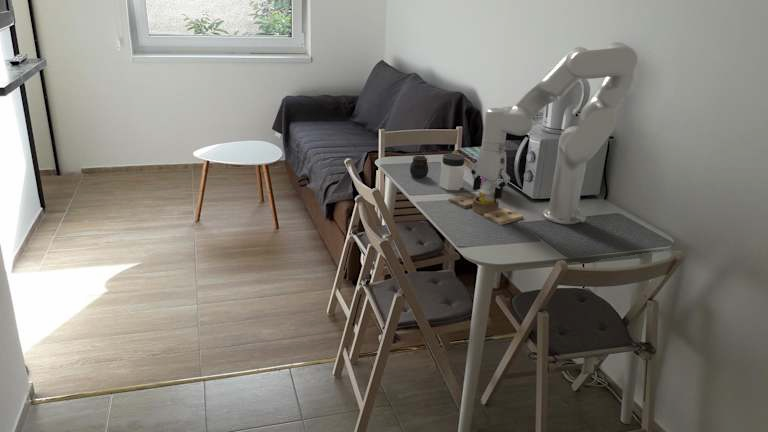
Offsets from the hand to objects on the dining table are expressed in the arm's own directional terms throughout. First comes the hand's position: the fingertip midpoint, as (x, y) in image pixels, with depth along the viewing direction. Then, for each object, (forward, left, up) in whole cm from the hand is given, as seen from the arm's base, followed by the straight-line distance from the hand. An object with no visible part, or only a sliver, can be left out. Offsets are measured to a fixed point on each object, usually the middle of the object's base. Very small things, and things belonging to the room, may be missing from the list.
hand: (486, 193), depth 219 cm
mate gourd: (+38, -3, -6) cm, 39 cm away
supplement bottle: (0, 0, -6) cm, 6 cm away
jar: (+23, -6, -6) cm, 25 cm away
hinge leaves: (0, 0, -6) cm, 6 cm away
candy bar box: (+15, -18, -6) cm, 24 cm away
